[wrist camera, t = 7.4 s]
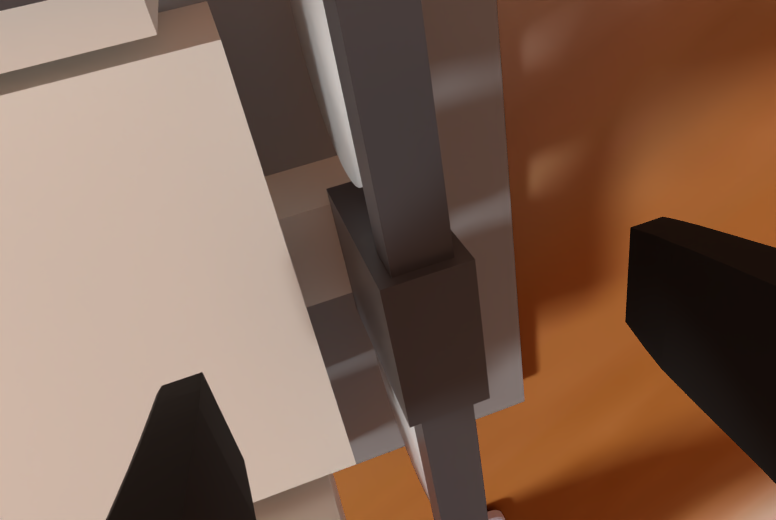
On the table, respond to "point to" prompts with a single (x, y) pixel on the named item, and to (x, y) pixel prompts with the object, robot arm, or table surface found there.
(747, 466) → the table surface
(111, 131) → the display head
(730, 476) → the table surface
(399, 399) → the glasses
